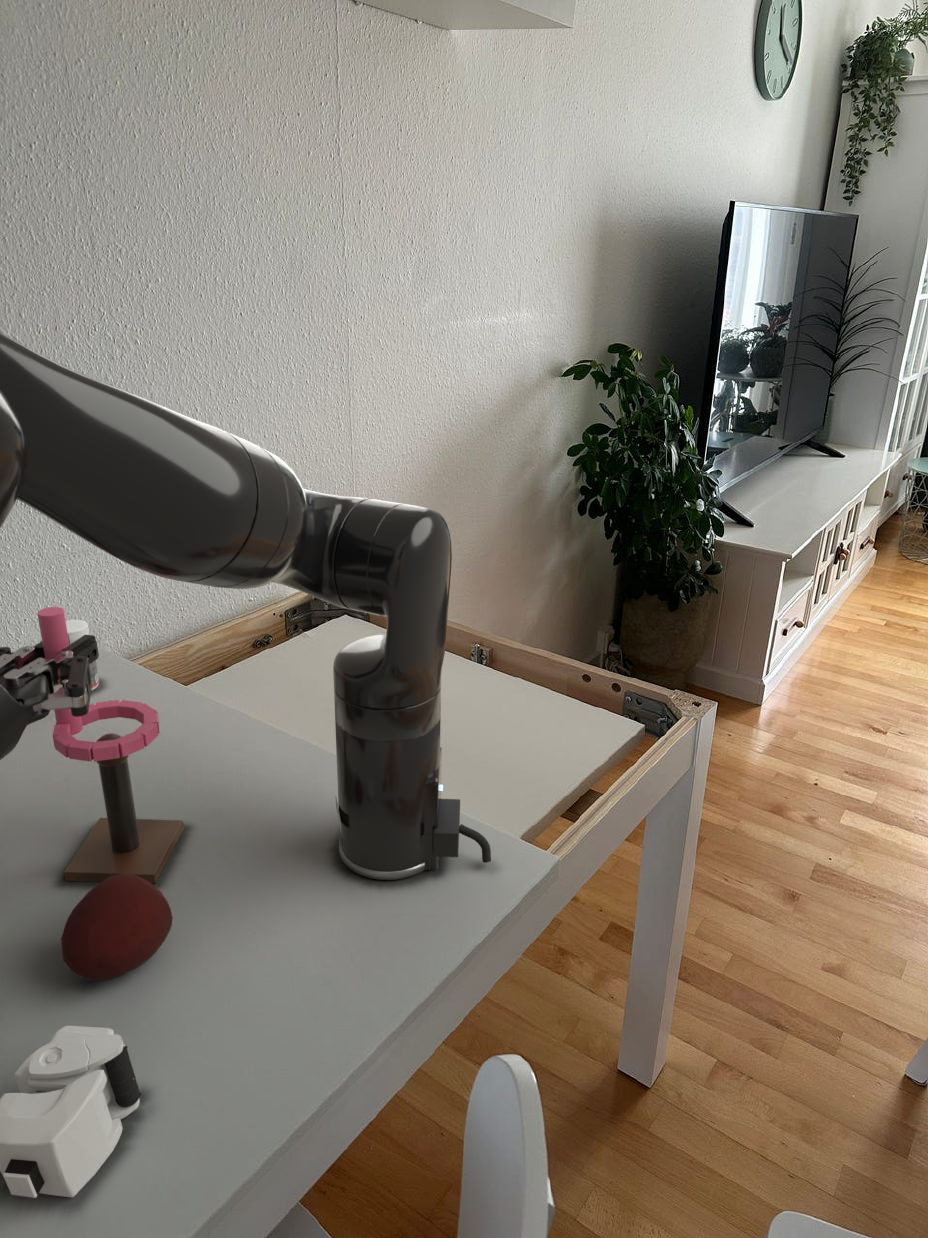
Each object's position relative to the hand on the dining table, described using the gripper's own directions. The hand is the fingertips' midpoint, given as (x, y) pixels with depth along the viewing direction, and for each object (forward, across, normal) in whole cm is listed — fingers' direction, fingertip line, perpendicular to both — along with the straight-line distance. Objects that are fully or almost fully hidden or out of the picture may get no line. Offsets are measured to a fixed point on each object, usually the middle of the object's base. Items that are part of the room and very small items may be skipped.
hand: (78, 643), depth 78 cm
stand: (-3, -4, +20) cm, 20 cm away
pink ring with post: (-3, -4, +7) cm, 8 cm away
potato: (-15, -11, +20) cm, 27 cm away
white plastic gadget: (-24, -15, +16) cm, 33 cm away
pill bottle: (+26, +20, +20) cm, 38 cm away
